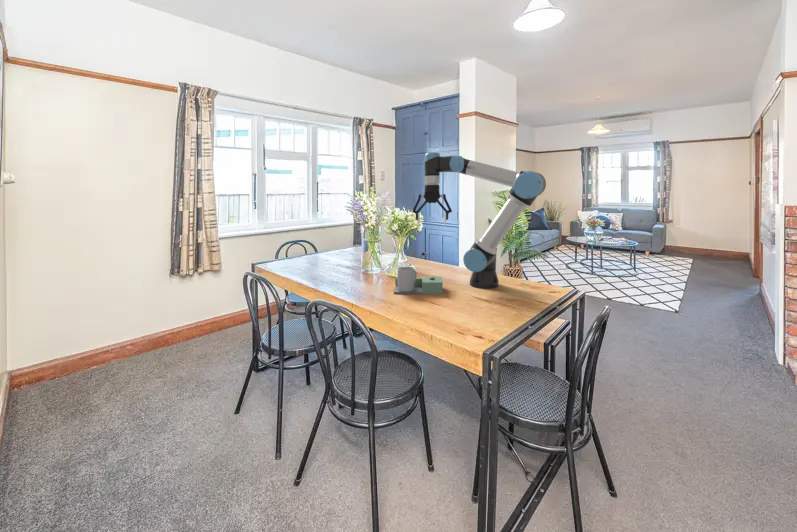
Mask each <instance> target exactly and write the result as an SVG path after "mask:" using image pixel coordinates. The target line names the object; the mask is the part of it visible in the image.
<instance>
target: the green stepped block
mask: <svg viewBox="0 0 797 532" xmlns="http://www.w3.org/2000/svg"><path fill="white" fill-rule="evenodd" d="M442 278H443V277H442V276H433V275H432V276H430V275H429V276H426V275H425V276H424V275H423V276H422V277H417V278H416V281H415V282H414V290H413V291H410V292H402V291H398V277H395V280H394V281H395V283H394V284H395V285H394V290H393V295H443V287H444V286H443V279H442Z"/></svg>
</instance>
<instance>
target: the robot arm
mask: <svg viewBox="0 0 797 532" xmlns="http://www.w3.org/2000/svg"><path fill="white" fill-rule="evenodd" d="M441 173H459V174H463V175H465V176H470V177H473V178H477V179H480V180H485V181H488V182H492V183H495V184H500V185H502V186H506V187H510V190H509V191H508V198H507V200H506V202H505V203H504V204H503V205H502V208H501V209H500V210H499V212H498V213H497V214H496V216H495V217H494V219H493V220H492V222H491V223H490V224H489V226H488V228H487V229H486V231H485V232H484V233H483V235H482V236H481V238H479V239H476V240H475V241H474V243H473V244H472V245H471V247H470V249H468V250H467V251H465V253H464V255H463V260H462V261H463V265H464V266H465V268H466V269H467V270H468V271H470V272H472V273H471V276H470V278H469V286H471V287H474V288H478V289H494V288H498V287H499V283H500V281H499V278H498V275H497V272H496V271H497V252H498V251H497V250H498V246H499V244H501V242H502V240H503V239H504V238H505V237H506V235H507V233H508V232H509V231H510V229H511V228H512V227H513V225H514V224H515V222H516V221H517V219H518V218H519V217H520V215H521V214H522V212H523V211H524V210H525V209H526V208H528V207H531V206H532V204H533V203H534V202H535V200H536V199H537V198H538V196H541V195H542V194H543V193H544V192H545V189H546V187H547V182H546V181H547V180H546V178H545V176H544V175H543V174H541V173H539V172H536V171H533V170H532V171H531V170H527V171H524V170H520V171H515V170H510V169H507V168H502V167H499V166H495V165H491V164H488V163H485V162H484V163H483V162H479V161H476V160H470V159H468V158H465V157H463V156H462V155H452V156H451V155H448V156H441V155H440V153H439V152H427V153H425V155H424V184H425V185H424V194H420V193H419V194H418V196H417V197H418V198H417V201H416V203H415V204H414V206H413V209H412V211H411V212H412V213H414V214H415V220H416V221H417V227H418V228H419V227H420V226H421V225H420V222H421V221H420V220H421V219H420V211H422V209H423V208H424V206H425V205H427V203H428V204H432V203H433V204H436V203H437V204H438V205H439V207H441V209H442V210H443V211H444V212H445V213H444V215H443V216H444V219H443V220H444V222H443V223H444V224H443V225H444V226H443V227H447V220H449V214H450V213H452V212H453V210H452V208H451V206H450V204H449V202H448V200H447V196H446V193H443V194H440V193H441V192H440V185H439V184H440V182H441V181H440V176H441V175H440V174H441ZM440 198H441V199H443V201H444V203H445V205H446V207H445V206H444V205H443V204H442V203H441V201H440V200H439V199H440ZM422 199H425V200H424V201H423V202H422V204H420V201H421V200H422ZM419 204H420V207H418V206H419ZM417 207H418V209H417Z"/></svg>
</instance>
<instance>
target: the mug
mask: <svg viewBox="0 0 797 532" xmlns="http://www.w3.org/2000/svg"><path fill="white" fill-rule="evenodd" d="M417 276H418V275H417V271H416V270H415V268H414V267H412V266H400V267H397V278H398V291H402V292H410V291H413V290H414V282H415V281H416V278H418V277H417Z"/></svg>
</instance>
